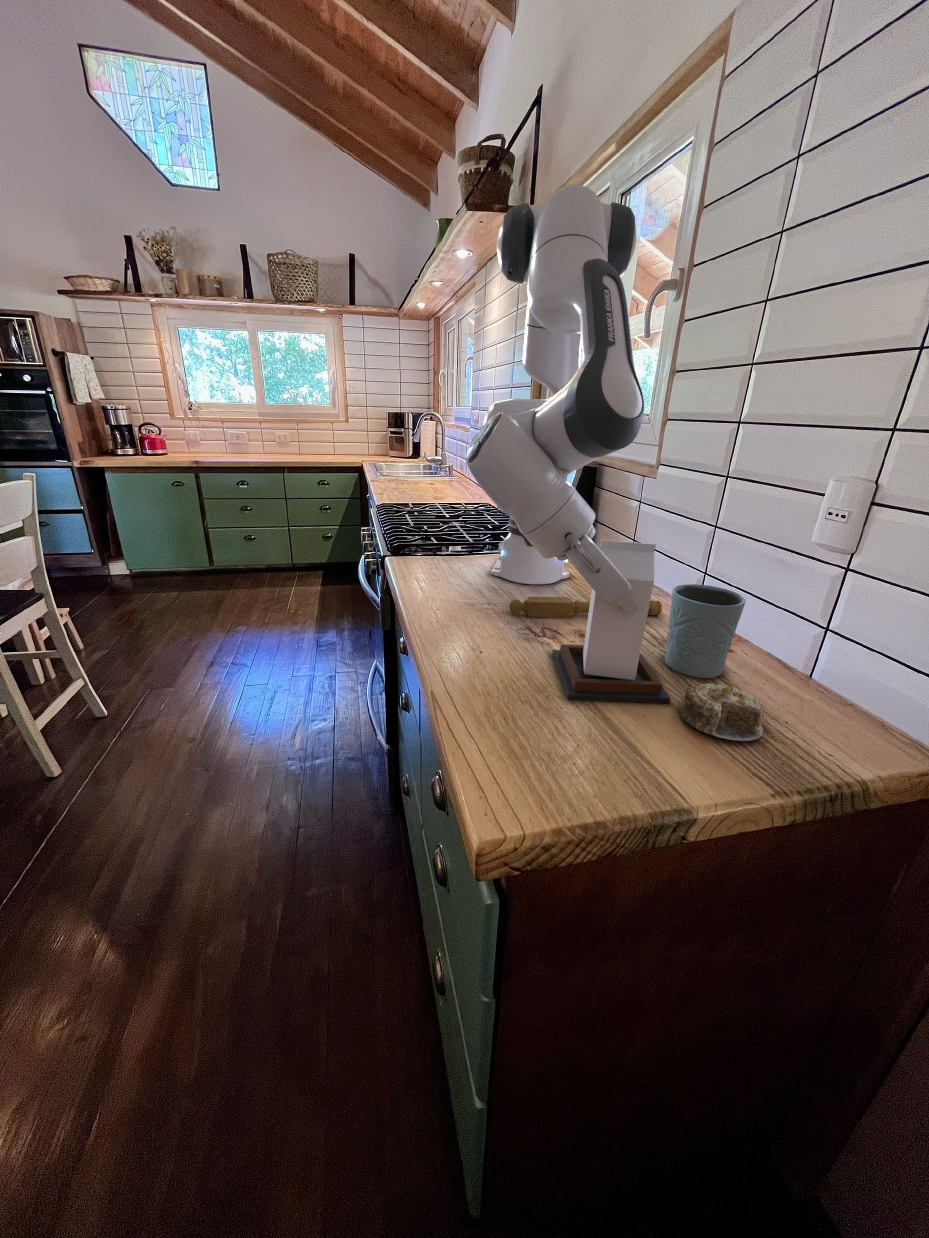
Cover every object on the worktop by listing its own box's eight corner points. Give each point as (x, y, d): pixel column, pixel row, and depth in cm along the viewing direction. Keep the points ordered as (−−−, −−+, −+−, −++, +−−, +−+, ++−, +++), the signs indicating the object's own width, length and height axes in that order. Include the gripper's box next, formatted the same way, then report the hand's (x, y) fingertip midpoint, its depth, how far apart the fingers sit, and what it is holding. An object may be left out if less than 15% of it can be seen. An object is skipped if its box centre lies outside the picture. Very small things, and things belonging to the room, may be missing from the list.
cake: (661, 709, 68) (667, 673, 66) (721, 701, 70) (728, 666, 69) (715, 748, 59) (724, 707, 57) (782, 737, 61) (792, 698, 60)
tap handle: (664, 603, 96) (511, 602, 94) (661, 617, 97) (509, 617, 95) (657, 597, 99) (508, 596, 97) (654, 612, 100) (507, 611, 98)
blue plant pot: (694, 685, 73) (713, 609, 68) (644, 656, 81) (658, 587, 77) (741, 672, 77) (761, 600, 72) (689, 646, 85) (704, 580, 81)
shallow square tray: (552, 654, 81) (553, 641, 80) (637, 657, 81) (640, 644, 80) (567, 699, 68) (569, 685, 67) (669, 703, 68) (672, 688, 67)
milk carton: (634, 681, 70) (660, 550, 63) (583, 675, 71) (602, 546, 64) (629, 659, 77) (652, 538, 69) (582, 653, 78) (599, 534, 70)
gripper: (598, 527, 56) (668, 611, 59) (566, 498, 74) (621, 563, 78) (554, 564, 57) (625, 643, 61) (533, 526, 76) (589, 589, 80)
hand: (622, 598), depth 70 cm, fingers closed on milk carton, 7 cm apart
